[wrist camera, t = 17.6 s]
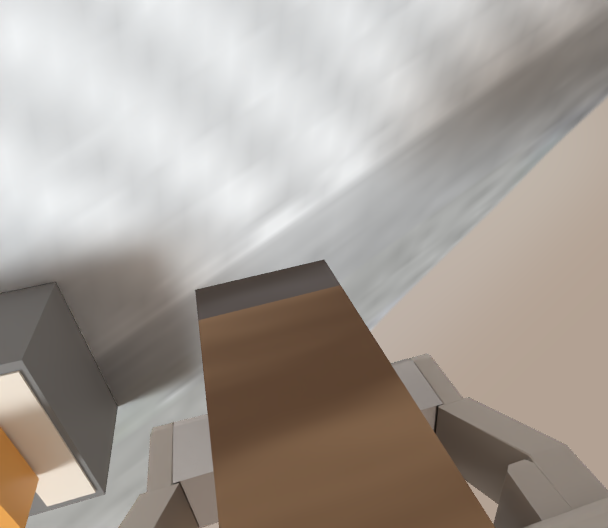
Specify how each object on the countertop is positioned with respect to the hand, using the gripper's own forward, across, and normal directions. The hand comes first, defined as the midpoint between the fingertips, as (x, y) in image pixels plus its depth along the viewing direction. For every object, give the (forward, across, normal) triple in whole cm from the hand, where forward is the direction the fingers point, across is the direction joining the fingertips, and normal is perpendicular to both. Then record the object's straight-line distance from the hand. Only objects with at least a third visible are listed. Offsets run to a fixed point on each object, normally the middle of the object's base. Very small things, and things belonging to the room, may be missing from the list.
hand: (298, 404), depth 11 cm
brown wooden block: (+4, 0, 0) cm, 4 cm away
